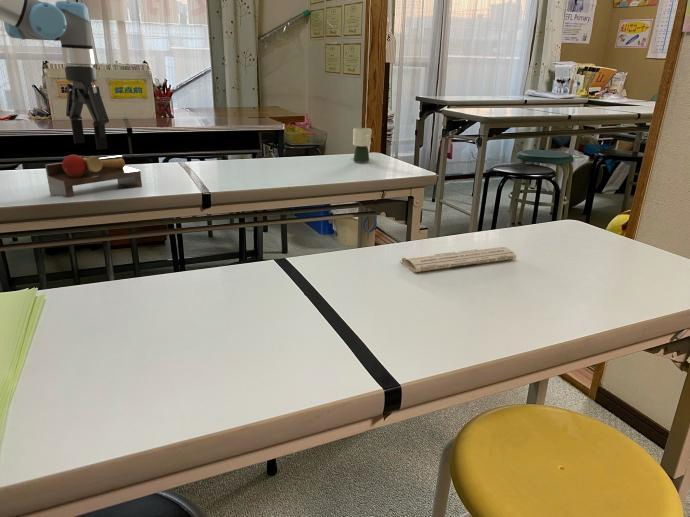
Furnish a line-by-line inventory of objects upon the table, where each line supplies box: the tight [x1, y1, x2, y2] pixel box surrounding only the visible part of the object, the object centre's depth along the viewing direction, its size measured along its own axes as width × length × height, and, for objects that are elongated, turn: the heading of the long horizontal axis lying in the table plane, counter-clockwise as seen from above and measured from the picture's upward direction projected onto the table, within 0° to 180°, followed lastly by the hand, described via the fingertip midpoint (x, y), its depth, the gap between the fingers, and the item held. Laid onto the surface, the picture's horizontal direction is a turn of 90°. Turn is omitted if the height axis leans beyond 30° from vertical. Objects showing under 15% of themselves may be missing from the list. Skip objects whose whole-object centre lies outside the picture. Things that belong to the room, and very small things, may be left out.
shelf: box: [44, 155, 143, 199], centre depth 149 cm, size 22×11×8 cm, turn 140°
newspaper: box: [399, 245, 517, 273], centre depth 105 cm, size 24×7×2 cm, turn 112°
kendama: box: [61, 154, 126, 177], centre depth 148 cm, size 8×6×18 cm
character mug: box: [352, 127, 372, 163], centre depth 203 cm, size 11×7×13 cm, turn 27°
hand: (90, 146), depth 145 cm, fingers open, 13 cm apart
